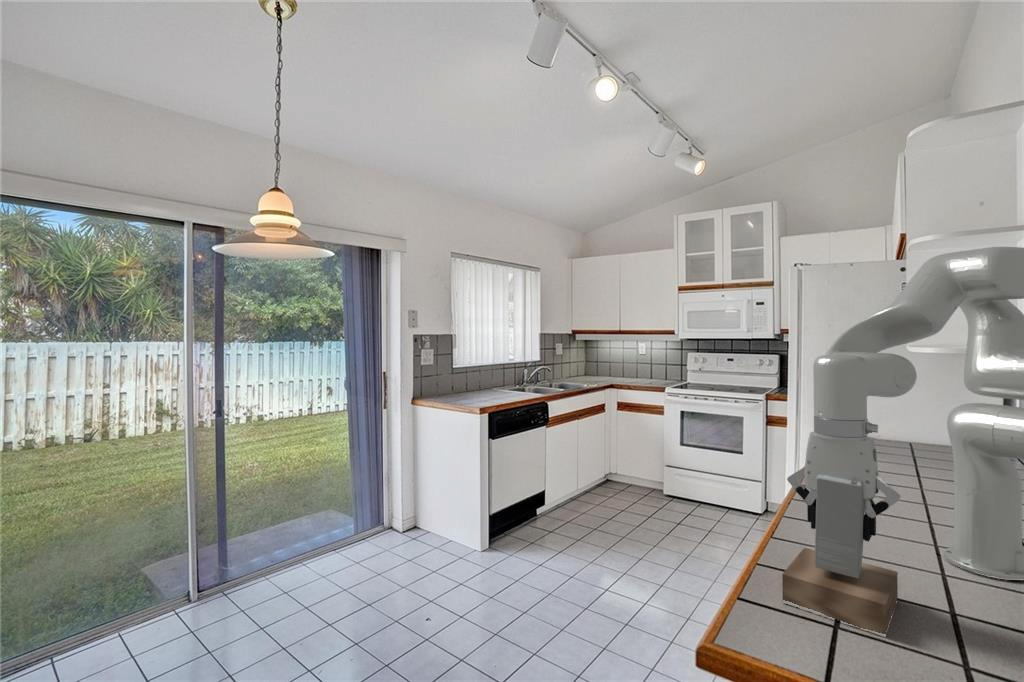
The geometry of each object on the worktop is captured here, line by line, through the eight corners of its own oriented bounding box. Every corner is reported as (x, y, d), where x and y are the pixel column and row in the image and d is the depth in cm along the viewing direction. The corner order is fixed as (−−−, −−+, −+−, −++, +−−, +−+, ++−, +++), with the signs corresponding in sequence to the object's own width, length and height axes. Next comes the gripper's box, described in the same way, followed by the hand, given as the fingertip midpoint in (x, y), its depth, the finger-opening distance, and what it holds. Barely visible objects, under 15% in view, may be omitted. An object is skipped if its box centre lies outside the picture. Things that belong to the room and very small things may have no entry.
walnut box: (897, 600, 83) (897, 571, 83) (885, 638, 73) (885, 605, 73) (804, 573, 93) (804, 547, 93) (782, 603, 83) (782, 574, 83)
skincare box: (820, 551, 89) (818, 464, 89) (868, 561, 84) (866, 469, 84) (812, 568, 82) (810, 474, 82) (865, 581, 78) (862, 482, 78)
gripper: (908, 430, 80) (908, 539, 80) (789, 419, 92) (790, 514, 92) (902, 438, 74) (903, 555, 74) (777, 425, 86) (778, 525, 87)
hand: (840, 531), depth 83 cm, fingers closed on skincare box, 6 cm apart
